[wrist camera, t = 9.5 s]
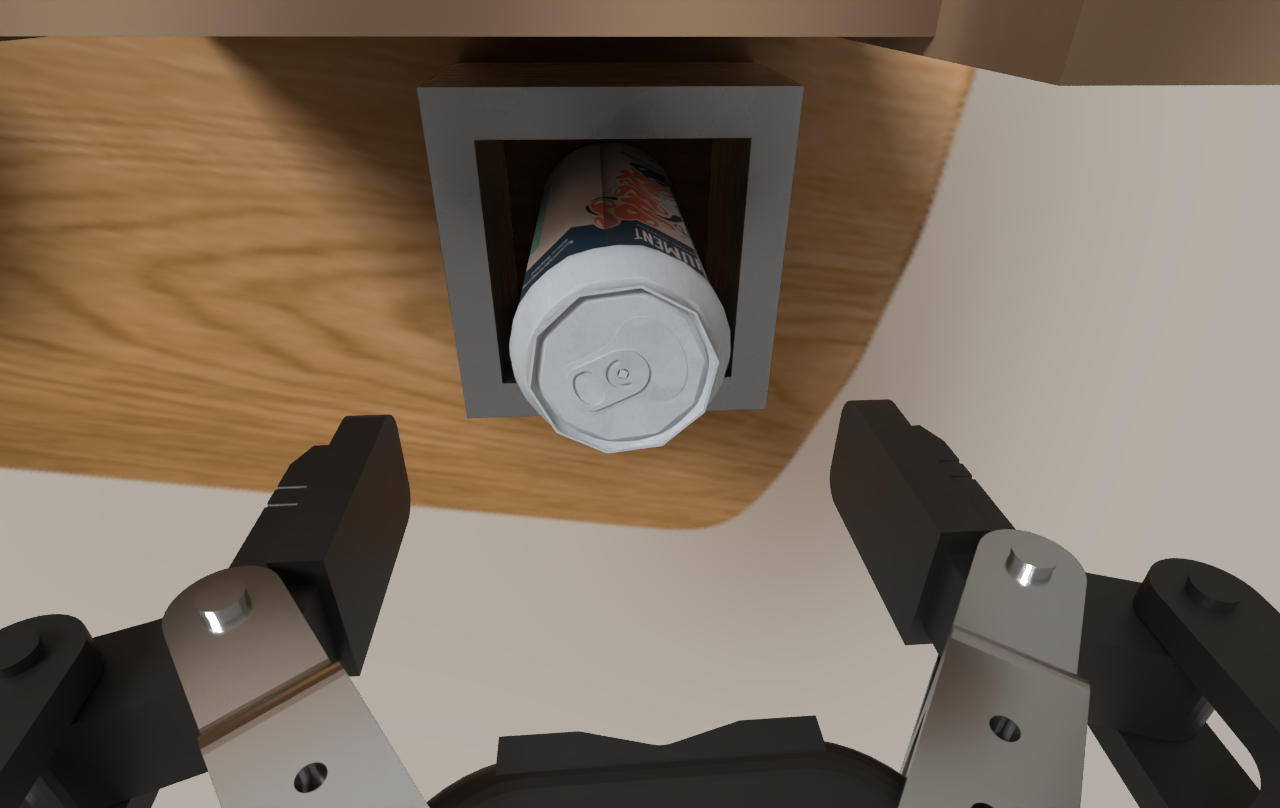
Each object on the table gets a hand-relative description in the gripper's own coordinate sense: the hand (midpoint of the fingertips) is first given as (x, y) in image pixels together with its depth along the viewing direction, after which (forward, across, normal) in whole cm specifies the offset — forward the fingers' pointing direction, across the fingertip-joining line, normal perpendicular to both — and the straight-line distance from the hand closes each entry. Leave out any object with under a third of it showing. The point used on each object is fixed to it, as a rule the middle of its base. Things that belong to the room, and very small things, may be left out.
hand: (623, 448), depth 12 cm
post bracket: (+14, 0, 0) cm, 14 cm away
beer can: (+14, 0, 0) cm, 14 cm away
